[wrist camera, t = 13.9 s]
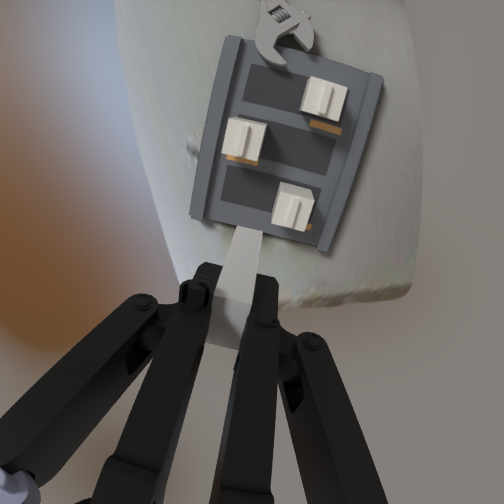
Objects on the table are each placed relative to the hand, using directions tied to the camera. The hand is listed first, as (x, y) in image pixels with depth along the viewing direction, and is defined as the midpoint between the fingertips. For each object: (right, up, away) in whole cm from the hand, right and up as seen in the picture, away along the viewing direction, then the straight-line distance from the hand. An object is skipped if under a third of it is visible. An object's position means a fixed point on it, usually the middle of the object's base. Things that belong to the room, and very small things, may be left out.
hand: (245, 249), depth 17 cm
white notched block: (+8, +16, +11) cm, 21 cm away
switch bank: (+4, +12, +15) cm, 20 cm away
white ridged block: (+5, +6, +16) cm, 18 cm away
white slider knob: (0, +12, +13) cm, 18 cm away
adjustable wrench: (+2, +31, +5) cm, 31 cm away
